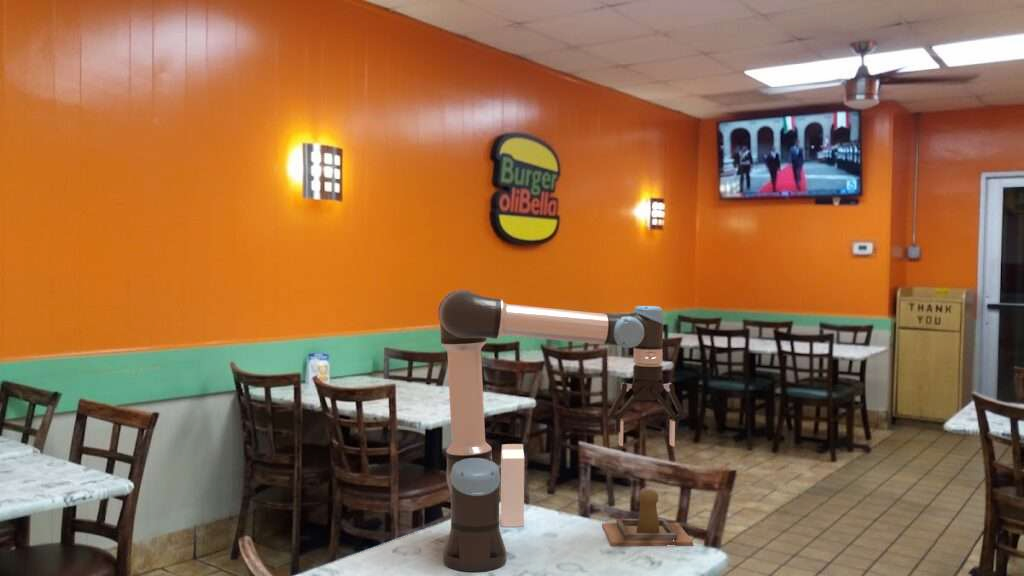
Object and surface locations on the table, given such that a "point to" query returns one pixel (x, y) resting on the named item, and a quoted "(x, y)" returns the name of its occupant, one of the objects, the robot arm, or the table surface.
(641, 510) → the brown tall rounded piece
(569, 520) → the table surface
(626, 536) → the board
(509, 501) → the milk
